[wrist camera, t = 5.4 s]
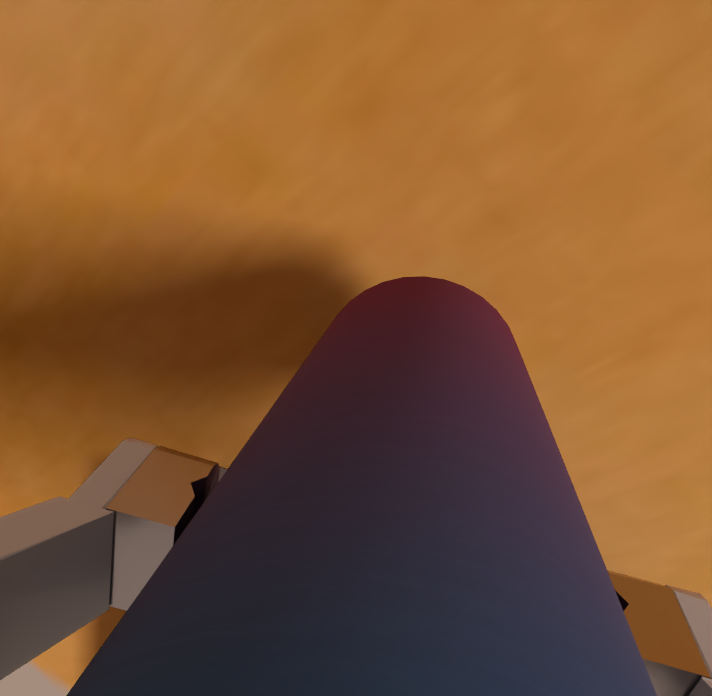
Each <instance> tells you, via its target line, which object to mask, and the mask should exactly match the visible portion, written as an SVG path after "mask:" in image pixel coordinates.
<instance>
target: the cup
mask: <svg viewBox="0 0 712 696" xmlns="http://www.w3.org/2000/svg"><path fill="white" fill-rule="evenodd" d="M67 696H657V694H656V691H655V689H654V686H653V684H652V681H651V679H650V676H649V674H648V671H647V669H646V666H645V664H644V661H643V659H642V656H641V654H640V651H639V649H638V646H637V644H636V641H635V639H634V636H633V634H632V631H631V629H630V626H629V624H628V621H627V619H626V616H625V614H624V611H623V609H622V606H621V604H620V601H619V599H618V596H617V594H616V591H615V589H614V586H613V584H612V581H611V579H610V576H609V574H608V571H607V569H606V566H605V564H604V561H603V559H602V556H601V554H600V551H599V549H598V546H597V544H596V541H595V539H594V536H593V534H592V531H591V529H590V526H589V524H588V521H587V519H586V516H585V514H584V511H583V509H582V506H581V504H580V501H579V499H578V496H577V494H576V491H575V489H574V486H573V484H572V481H571V479H570V476H569V474H568V471H567V469H566V467H565V464H564V462H563V459H562V457H561V454H560V452H559V449H558V447H557V444H556V442H555V439H554V437H553V434H552V432H551V429H550V427H549V424H548V422H547V419H546V417H545V414H544V412H543V409H542V407H541V404H540V402H539V399H538V397H537V394H536V392H535V389H534V387H533V384H532V382H531V379H530V377H529V374H528V372H527V369H526V367H525V364H524V362H523V359H522V357H521V354H520V352H519V349H518V347H517V344H516V342H515V339H514V337H513V335H512V333H511V331H510V328H509V326H508V325H507V323H506V322H505V321H504V319H503V318H502V317H501V315H500V314H499V312H498V311H497V310H496V309H495V308H494V307H493V306H492V305H490V304H489V303H488V302H487V301H486V300H485V299H484V298H483V297H481V296H480V295H478V294H476V293H474V292H473V291H471V290H469V289H468V288H466V287H464V286H461V285H459V284H456V283H453V282H450V281H447V280H444V279H437V278H431V277H402V278H398V279H394V280H390V281H385V282H382V283H380V284H378V285H376V286H373V287H371V288H369V289H367V290H365V291H363V292H362V293H361V294H359V295H358V296H357V297H355V298H354V299H352V300H351V301H350V302H349V303H348V304H347V305H346V306H345V307H344V308H343V309H342V310H341V312H340V313H339V314H338V315H337V316H336V318H335V319H334V320H333V322H332V323H331V325H330V326H329V328H328V329H327V330H326V332H325V333H324V335H323V336H322V337H321V339H320V340H319V342H318V343H317V344H316V346H315V347H314V349H313V350H312V351H311V353H310V354H309V356H308V357H307V358H306V360H305V361H304V363H303V364H302V365H301V367H300V368H299V370H298V371H297V372H296V374H295V375H294V377H293V378H292V380H291V381H290V382H289V384H288V385H287V387H286V388H285V389H284V391H283V392H282V394H281V395H280V396H279V398H278V399H277V401H276V402H275V403H274V405H273V406H272V408H271V409H270V410H269V412H268V413H267V415H266V416H265V417H264V419H263V420H262V422H261V423H260V424H259V426H258V427H257V429H256V430H255V432H254V433H253V434H252V436H251V437H250V439H249V440H248V441H247V443H246V444H245V446H244V447H243V448H242V450H241V451H240V453H239V454H238V455H237V457H236V458H235V460H234V461H233V462H232V464H231V465H230V467H229V468H228V469H227V471H226V472H225V474H224V475H223V476H222V478H221V479H220V481H219V482H218V484H217V485H216V486H215V488H214V489H213V491H212V492H211V493H210V495H209V496H208V498H207V499H206V500H205V502H204V503H203V505H202V506H201V507H200V509H199V510H198V512H197V513H196V514H195V516H194V517H193V519H192V520H191V521H190V523H189V524H188V526H187V527H186V528H185V530H184V531H183V533H182V534H181V536H180V537H179V538H178V540H177V541H176V543H175V544H174V545H173V547H172V548H171V550H170V551H169V552H168V554H167V555H166V557H165V558H164V559H163V561H162V562H161V564H160V565H159V566H158V568H157V569H156V571H155V572H154V573H153V575H152V576H151V578H150V579H149V580H148V582H147V583H146V585H145V586H144V588H143V589H142V590H141V592H140V593H139V595H138V596H137V597H136V599H135V600H134V602H133V603H132V604H131V606H130V607H129V609H128V610H127V611H126V613H125V614H124V616H123V617H122V618H121V620H120V621H119V623H118V624H117V625H116V627H115V628H114V630H113V631H112V632H111V634H110V635H109V637H108V638H107V640H106V641H105V642H104V644H103V645H102V647H101V648H100V649H99V651H98V652H97V654H96V655H95V656H94V658H93V659H92V661H91V662H90V663H89V665H88V666H87V668H86V669H85V670H84V672H83V673H82V675H81V676H80V677H79V679H78V680H77V682H76V683H75V684H74V686H73V687H72V689H71V690H70V692H69V693H68V694H67Z"/></svg>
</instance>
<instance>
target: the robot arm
mask: <svg viewBox="0 0 712 696" xmlns="http://www.w3.org/2000/svg"><path fill="white" fill-rule="evenodd" d="M219 472H220V467H219V464H218V463H216V462H213V461H209V460H206V459H203V458H199V457H196V456H193V455H189V454H186V453H183V452H179V451H176V450H173V449H169V448H166V447H162V446H157V445H154V444H151V443H147V442H144V441H141V440H137V439H134V438H128V439H125V440H123V441H122V442H121V443H120V444H119V445H118V446H117V447H116V448H115V449H114V450H113V451H112V452H111V453H110V455H109V456H108V457H107V458H106V459H105V460H104V461H103V462H102V463H101V464H100V465H99V466H98V467H97V469H96V470H95V471H94V472H93V473H92V474H91V475H90V476H89V477H88V478H87V479H86V480H85V481H84V483H83V484H82V485H81V486H80V487H79V488H78V489H77V490H76V491H75V492H74V493H73V494H72V495H71V496H70V498H69V499H67V498H63V497H56V498H53V499H50V500H48V501H45V502H42V503H39V504H36V505H34V506H31V507H28V508H25V509H22V510H19V511H17V512H14V513H11V514H8V515H5V516H3V517H0V680H1V679H3V678H4V677H6V676H7V675H9V674H11V673H12V672H14V671H15V670H17V669H18V668H20V667H21V666H23V665H24V664H26V663H28V662H29V661H31V660H32V659H34V658H35V657H37V656H38V655H40V654H41V653H43V652H44V651H46V650H48V649H49V648H51V647H52V646H54V645H55V644H57V643H58V642H60V641H61V640H63V639H64V638H66V637H68V636H69V635H71V634H72V633H74V632H75V631H77V630H78V629H80V628H81V627H83V626H85V625H86V624H88V623H89V622H91V621H92V620H94V619H95V618H97V617H98V616H100V615H101V614H103V613H105V612H106V611H108V610H109V606H110V607H114V608H118V609H122V610H126V611H127V610H128V609H129V607H130V606H131V604H132V603H133V602H134V600H135V599H136V597H137V596H138V595H139V593H140V592H141V590H142V589H143V588H144V586H145V585H146V583H147V582H148V580H149V579H150V578H151V576H152V575H153V573H154V572H155V571H156V569H157V568H158V566H159V565H160V564H161V562H162V561H163V559H164V558H165V557H166V555H167V554H168V552H169V551H170V550H171V548H172V547H173V545H174V544H175V543H176V541H177V540H178V538H179V537H180V536H181V534H182V533H183V531H184V530H185V528H186V527H187V526H188V524H189V523H190V521H191V520H192V519H193V517H194V516H195V514H196V513H197V512H198V510H199V509H200V507H201V506H202V505H203V503H204V502H205V500H206V499H207V498H208V496H209V495H210V493H211V492H212V491H213V489H214V488H215V486H216V485H217V484H218V481H219ZM607 571H608V574H609V576H610V579H611V581H612V584H613V586H614V589H615V591H616V594H617V596H618V599H619V601H620V604H621V606H622V609H623V611H624V614H625V616H626V619H627V621H628V624H629V626H630V629H631V631H632V634H633V636H634V639H635V641H636V644H637V646H638V649H639V651H640V654H641V656H642V659H643V661H644V664H645V666H646V669H647V671H648V674H649V676H650V679H651V681H652V684H653V686H654V689H655V691H656V694H657V696H712V609H711V607H710V605H709V603H708V601H707V600H706V599H705V598H704V597H703V596H702V595H701V594H700V593H696V592H692V591H688V590H684V589H680V588H676V587H672V586H668V585H665V586H664V585H661V584H657V583H653V582H649V581H646V580H642V579H638V578H635V577H631V576H627V575H623V574H620V573H616V572H612V571H609V570H607Z"/></svg>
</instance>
